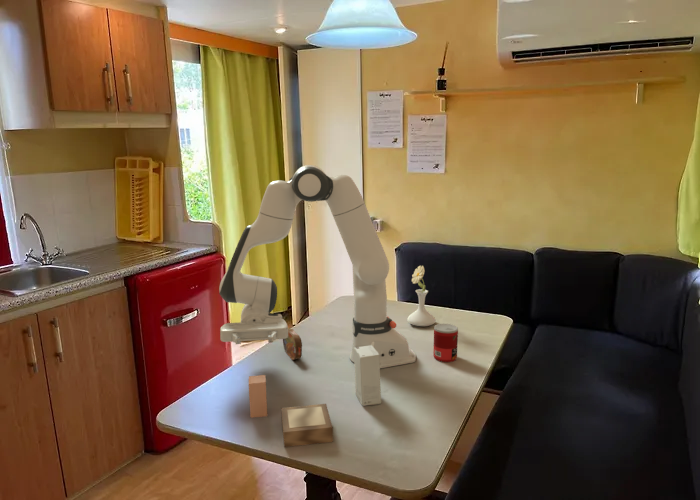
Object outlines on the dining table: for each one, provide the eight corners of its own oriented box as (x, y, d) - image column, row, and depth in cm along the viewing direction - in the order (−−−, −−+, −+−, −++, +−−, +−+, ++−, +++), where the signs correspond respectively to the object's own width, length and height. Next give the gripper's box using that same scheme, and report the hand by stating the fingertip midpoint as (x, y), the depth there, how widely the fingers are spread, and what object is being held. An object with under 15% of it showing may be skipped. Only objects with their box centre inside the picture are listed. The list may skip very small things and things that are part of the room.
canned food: (456, 363, 176) (458, 332, 173) (432, 361, 177) (433, 330, 175) (457, 354, 183) (458, 324, 181) (433, 352, 185) (434, 322, 182)
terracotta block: (266, 408, 148) (265, 374, 146) (267, 416, 144) (265, 382, 142) (250, 409, 147) (248, 376, 145) (250, 417, 143) (248, 383, 141)
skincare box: (381, 404, 149) (381, 355, 146) (360, 407, 148) (360, 357, 145) (373, 390, 157) (373, 344, 154) (353, 393, 156) (353, 346, 153)
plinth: (326, 417, 143) (326, 403, 142) (332, 441, 131) (332, 426, 130) (281, 421, 141) (281, 407, 140) (284, 447, 129) (283, 431, 128)
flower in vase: (407, 318, 219) (408, 260, 214) (435, 319, 218) (436, 260, 213) (406, 329, 207) (407, 267, 202) (435, 330, 205) (437, 268, 200)
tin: (282, 348, 190) (281, 325, 189) (290, 346, 191) (290, 324, 190) (295, 364, 177) (294, 340, 175) (304, 362, 178) (303, 338, 176)
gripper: (220, 316, 165) (217, 332, 151) (286, 313, 168) (289, 329, 155) (221, 335, 166) (218, 353, 153) (286, 332, 169) (289, 349, 156)
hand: (254, 341), depth 154 cm, fingers open, 8 cm apart
